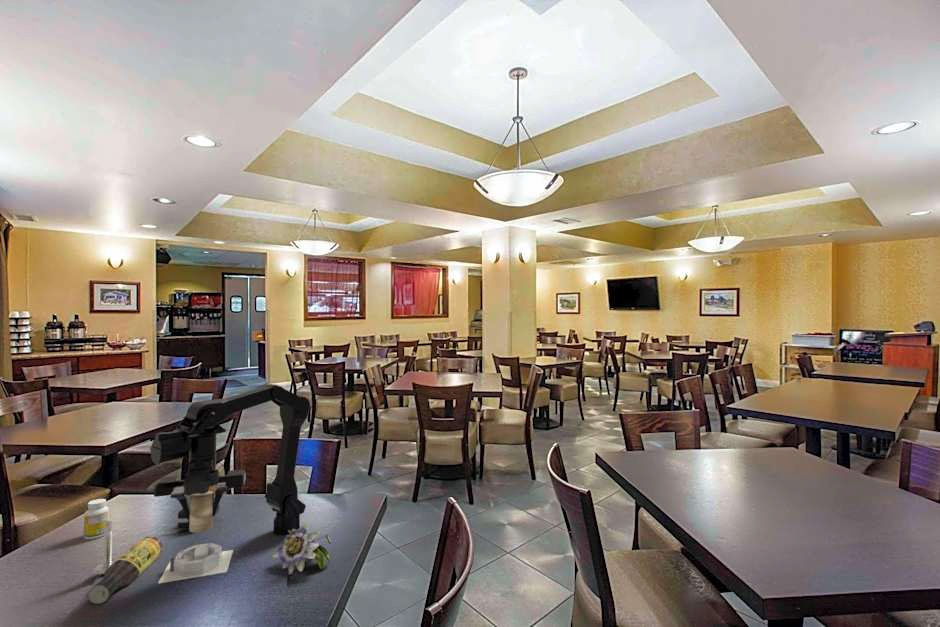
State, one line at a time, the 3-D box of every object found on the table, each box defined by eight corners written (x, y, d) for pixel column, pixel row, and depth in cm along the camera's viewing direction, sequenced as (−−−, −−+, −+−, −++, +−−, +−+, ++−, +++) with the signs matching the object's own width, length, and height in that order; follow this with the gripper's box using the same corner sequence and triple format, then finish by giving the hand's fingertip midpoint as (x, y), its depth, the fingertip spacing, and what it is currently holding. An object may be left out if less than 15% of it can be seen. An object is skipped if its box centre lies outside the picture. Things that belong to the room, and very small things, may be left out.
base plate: (233, 553, 117) (233, 549, 117) (226, 576, 106) (226, 571, 106) (171, 563, 112) (171, 559, 112) (157, 587, 101) (157, 583, 101)
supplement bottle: (104, 538, 124) (105, 503, 125) (80, 541, 122) (81, 506, 123) (111, 529, 129) (112, 496, 130) (88, 532, 127) (89, 499, 127)
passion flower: (291, 596, 108) (260, 558, 107) (311, 564, 118) (284, 529, 117) (325, 575, 105) (295, 536, 105) (343, 544, 116) (315, 508, 115)
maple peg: (214, 521, 112) (215, 489, 112) (211, 530, 107) (212, 497, 108) (191, 525, 110) (192, 492, 110) (187, 533, 105) (188, 499, 106)
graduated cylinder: (124, 569, 109) (109, 580, 104) (103, 570, 108) (88, 581, 104) (125, 516, 109) (111, 525, 104) (104, 516, 109) (89, 525, 104)
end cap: (202, 534, 127) (202, 510, 127) (176, 534, 127) (177, 510, 127) (219, 518, 137) (220, 496, 137) (196, 519, 137) (196, 497, 137)
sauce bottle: (169, 540, 114) (124, 587, 95) (155, 562, 114) (108, 615, 94) (144, 530, 113) (93, 576, 94) (130, 552, 113) (77, 603, 93)
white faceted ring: (223, 552, 115) (223, 540, 115) (216, 572, 106) (216, 559, 106) (176, 559, 112) (176, 547, 112) (165, 580, 103) (165, 567, 103)
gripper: (147, 467, 98) (145, 539, 98) (241, 459, 105) (240, 525, 105) (161, 453, 108) (160, 518, 108) (246, 446, 115) (245, 507, 115)
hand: (201, 517), depth 109 cm, fingers closed on maple peg, 5 cm apart
